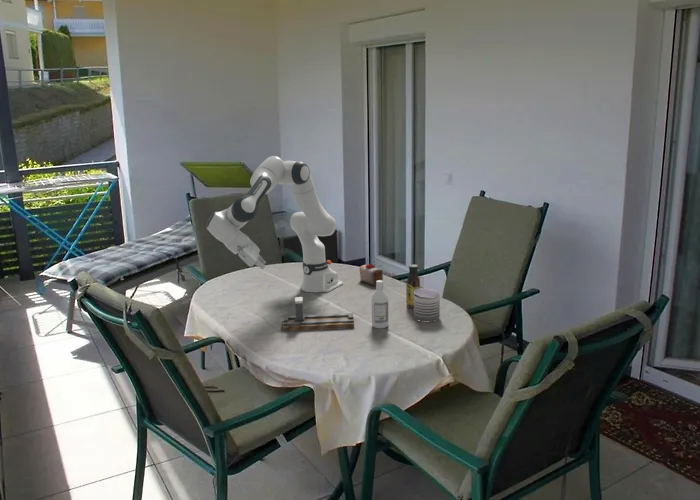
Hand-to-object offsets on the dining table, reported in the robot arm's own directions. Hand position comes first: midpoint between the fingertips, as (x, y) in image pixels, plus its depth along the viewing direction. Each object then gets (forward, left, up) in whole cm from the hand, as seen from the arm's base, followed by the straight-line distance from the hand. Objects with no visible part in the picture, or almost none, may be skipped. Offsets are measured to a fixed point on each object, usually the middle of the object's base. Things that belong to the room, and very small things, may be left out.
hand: (264, 265), depth 267 cm
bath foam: (-30, +37, -28) cm, 55 cm away
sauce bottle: (-58, +34, -28) cm, 73 cm away
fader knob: (-10, +10, -25) cm, 29 cm away
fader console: (-15, +15, -27) cm, 35 cm away
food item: (-75, -4, -28) cm, 80 cm away
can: (-50, +47, -28) cm, 74 cm away
